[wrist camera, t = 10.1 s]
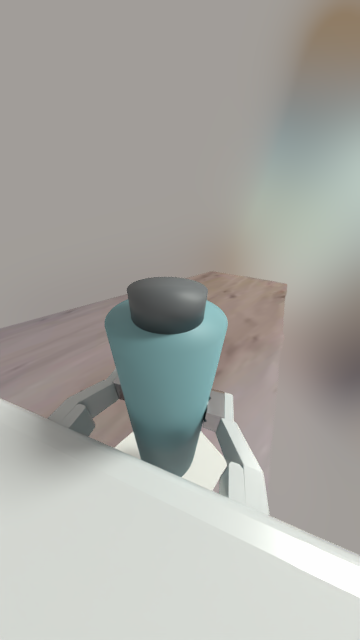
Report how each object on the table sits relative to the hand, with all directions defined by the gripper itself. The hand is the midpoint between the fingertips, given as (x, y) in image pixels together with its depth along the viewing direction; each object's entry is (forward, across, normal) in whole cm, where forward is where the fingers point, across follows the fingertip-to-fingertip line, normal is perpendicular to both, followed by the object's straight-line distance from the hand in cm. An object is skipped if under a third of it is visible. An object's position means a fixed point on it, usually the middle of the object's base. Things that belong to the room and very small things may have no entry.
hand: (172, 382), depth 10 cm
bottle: (-1, 0, -8) cm, 8 cm away
